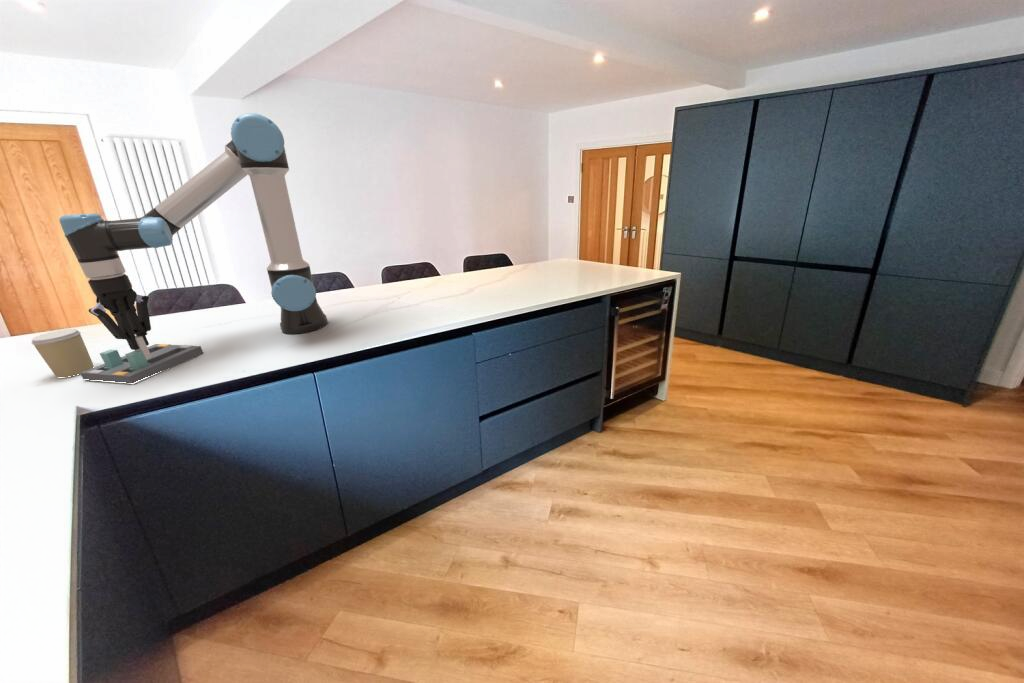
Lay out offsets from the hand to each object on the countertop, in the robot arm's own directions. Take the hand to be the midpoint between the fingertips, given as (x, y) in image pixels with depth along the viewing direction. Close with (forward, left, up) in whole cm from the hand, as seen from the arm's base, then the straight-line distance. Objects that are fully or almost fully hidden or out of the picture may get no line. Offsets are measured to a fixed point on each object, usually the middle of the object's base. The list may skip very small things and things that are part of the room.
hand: (145, 358), depth 110 cm
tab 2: (0, +2, -3) cm, 3 cm away
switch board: (+4, -2, -4) cm, 6 cm away
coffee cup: (+23, +4, -4) cm, 24 cm away
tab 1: (+9, +2, -3) cm, 10 cm away
